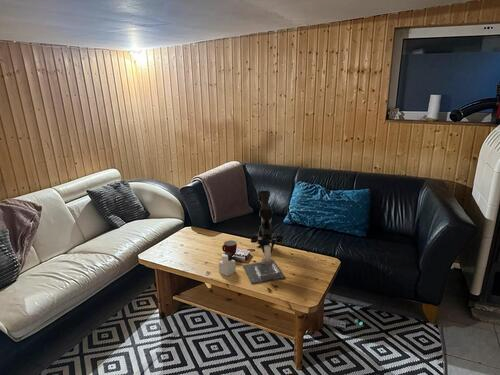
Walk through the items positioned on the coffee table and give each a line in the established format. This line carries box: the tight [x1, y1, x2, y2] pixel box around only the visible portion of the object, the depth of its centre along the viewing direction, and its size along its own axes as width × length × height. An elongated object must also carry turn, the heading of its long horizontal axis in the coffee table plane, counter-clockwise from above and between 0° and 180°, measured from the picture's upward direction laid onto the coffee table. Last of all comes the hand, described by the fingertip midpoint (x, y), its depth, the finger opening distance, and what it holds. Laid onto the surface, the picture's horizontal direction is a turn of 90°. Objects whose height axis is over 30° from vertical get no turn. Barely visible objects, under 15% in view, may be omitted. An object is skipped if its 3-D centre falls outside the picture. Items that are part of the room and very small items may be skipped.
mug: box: [221, 239, 238, 256], centre depth 209 cm, size 10×8×10 cm
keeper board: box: [242, 260, 287, 285], centre depth 191 cm, size 20×20×2 cm
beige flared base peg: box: [260, 244, 274, 265], centre depth 188 cm, size 7×7×10 cm
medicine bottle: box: [218, 252, 237, 277], centre depth 191 cm, size 7×7×12 cm
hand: (267, 253), depth 186 cm, fingers closed on beige flared base peg, 4 cm apart
